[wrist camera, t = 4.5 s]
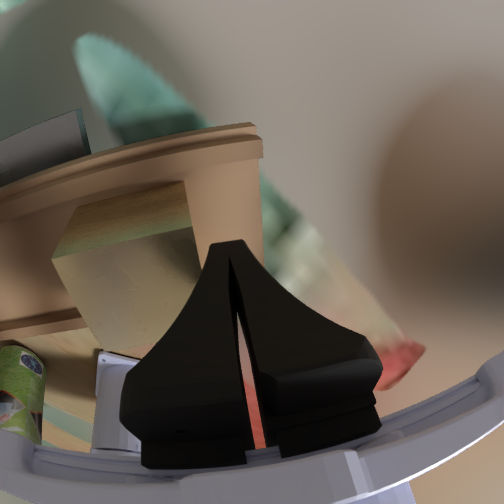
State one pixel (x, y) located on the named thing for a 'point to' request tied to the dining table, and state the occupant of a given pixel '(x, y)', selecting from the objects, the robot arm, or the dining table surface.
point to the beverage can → (21, 392)
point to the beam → (114, 184)
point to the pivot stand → (43, 147)
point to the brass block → (130, 264)
